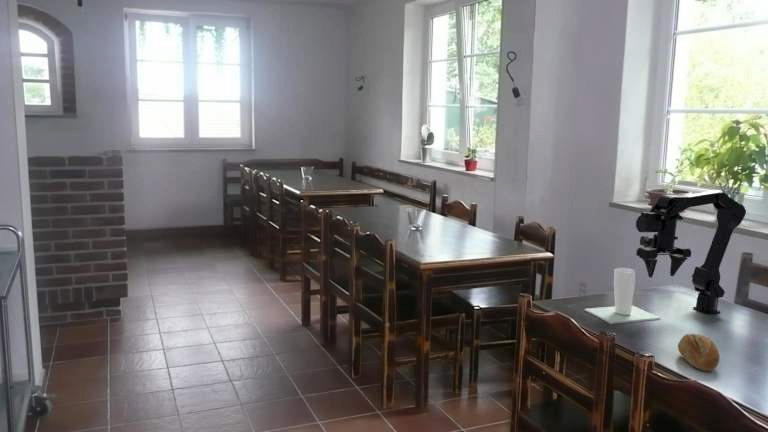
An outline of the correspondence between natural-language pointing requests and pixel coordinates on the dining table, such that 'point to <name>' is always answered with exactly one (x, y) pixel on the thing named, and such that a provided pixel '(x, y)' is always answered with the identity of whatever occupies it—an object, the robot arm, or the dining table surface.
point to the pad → (612, 317)
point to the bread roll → (699, 351)
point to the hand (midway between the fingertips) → (661, 276)
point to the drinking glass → (623, 290)
